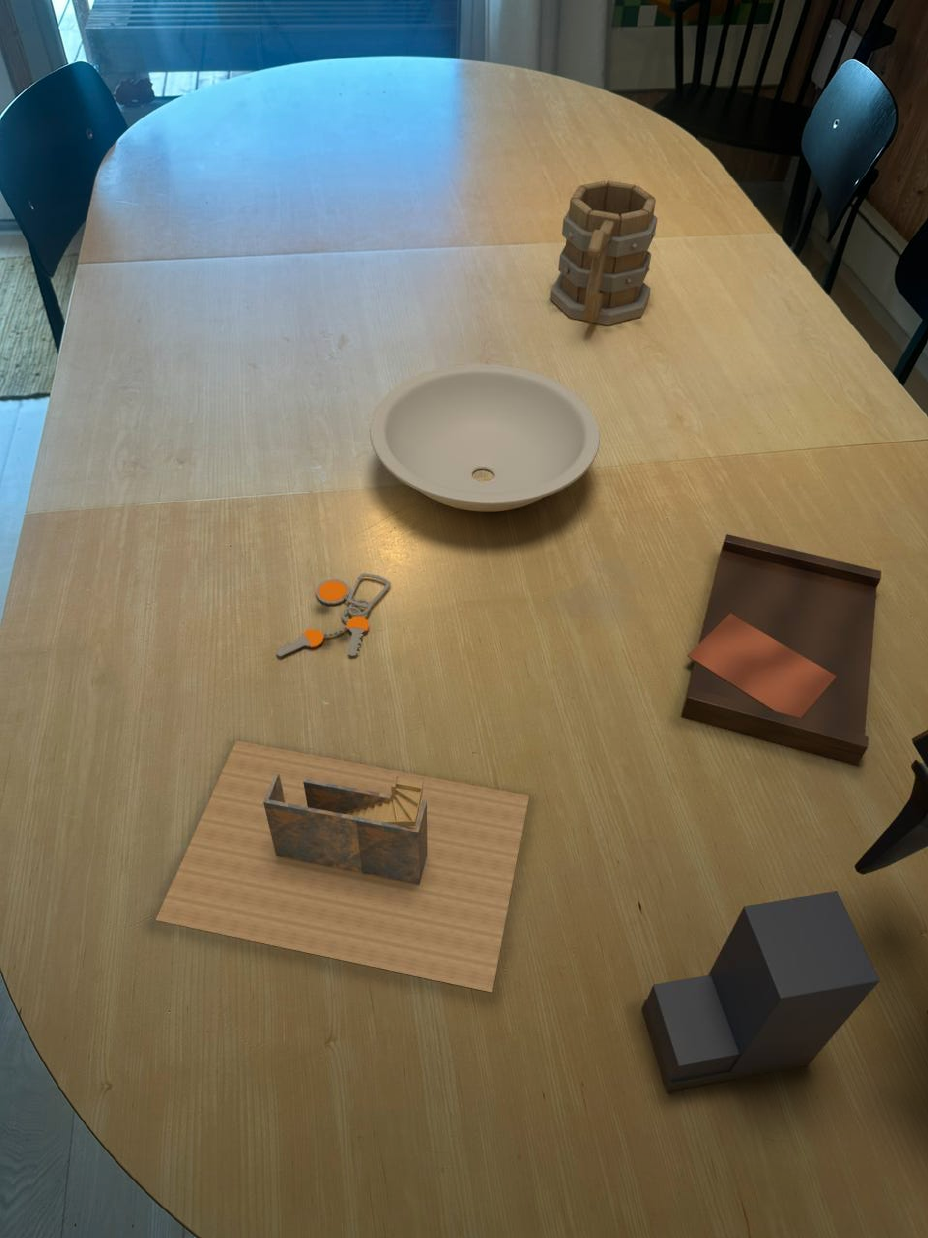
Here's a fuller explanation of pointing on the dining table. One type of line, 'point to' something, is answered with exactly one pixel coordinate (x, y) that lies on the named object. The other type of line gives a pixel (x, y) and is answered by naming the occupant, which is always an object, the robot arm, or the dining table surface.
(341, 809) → the architectural model on board
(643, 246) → the tankard
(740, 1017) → the charcoal gray box
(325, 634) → the key chain
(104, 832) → the dining table surface
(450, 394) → the white vessel sink
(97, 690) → the dining table surface
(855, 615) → the brown serving tray
